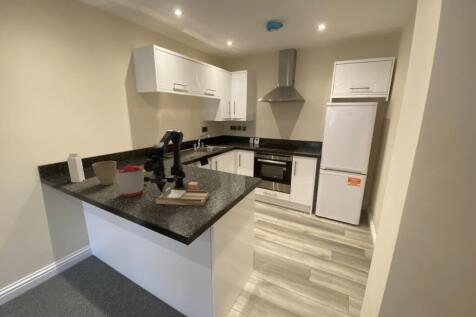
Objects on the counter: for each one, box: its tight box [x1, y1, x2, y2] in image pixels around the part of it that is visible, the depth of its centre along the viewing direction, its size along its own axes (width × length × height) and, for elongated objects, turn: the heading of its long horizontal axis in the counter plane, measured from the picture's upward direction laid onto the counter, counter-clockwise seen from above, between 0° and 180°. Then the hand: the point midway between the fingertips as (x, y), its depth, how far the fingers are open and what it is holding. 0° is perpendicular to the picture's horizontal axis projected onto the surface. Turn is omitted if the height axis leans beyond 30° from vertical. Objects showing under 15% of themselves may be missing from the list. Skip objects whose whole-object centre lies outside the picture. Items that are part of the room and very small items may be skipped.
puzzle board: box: [155, 188, 210, 207], centre depth 118 cm, size 14×28×4 cm, turn 84°
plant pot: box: [91, 160, 117, 186], centre depth 145 cm, size 15×15×16 cm
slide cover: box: [161, 186, 186, 198], centre depth 118 cm, size 11×11×4 cm
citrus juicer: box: [115, 164, 145, 198], centre depth 126 cm, size 16×17×20 cm
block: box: [187, 181, 199, 190], centre depth 131 cm, size 5×5×6 cm
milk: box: [66, 153, 85, 183], centre depth 150 cm, size 6×6×22 cm
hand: (161, 191), depth 119 cm, fingers closed
